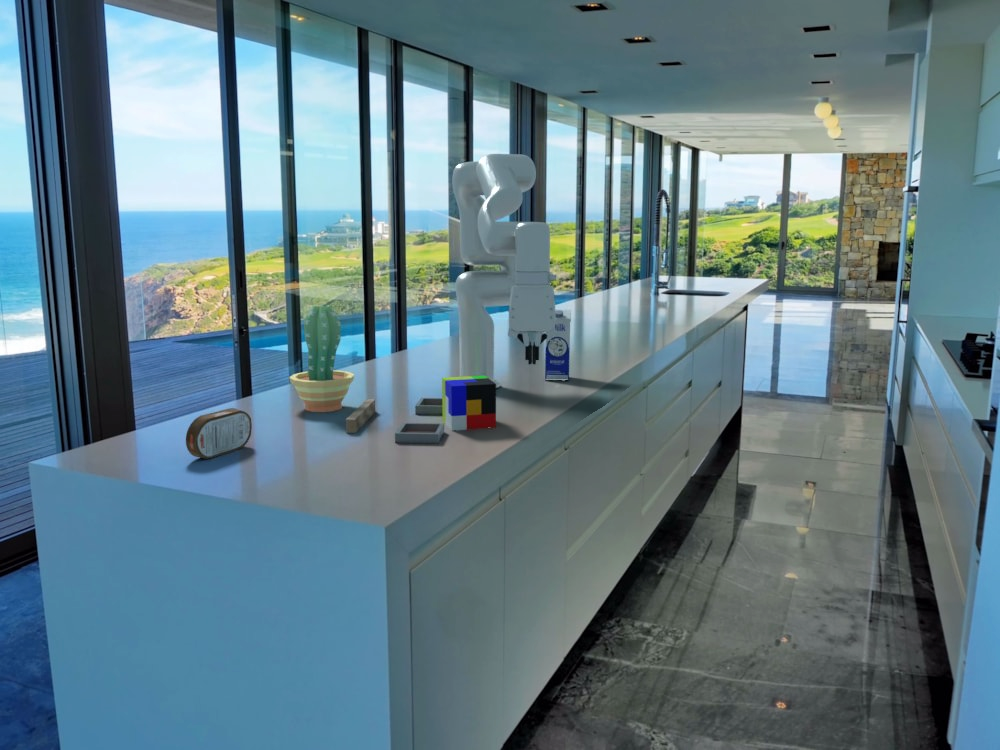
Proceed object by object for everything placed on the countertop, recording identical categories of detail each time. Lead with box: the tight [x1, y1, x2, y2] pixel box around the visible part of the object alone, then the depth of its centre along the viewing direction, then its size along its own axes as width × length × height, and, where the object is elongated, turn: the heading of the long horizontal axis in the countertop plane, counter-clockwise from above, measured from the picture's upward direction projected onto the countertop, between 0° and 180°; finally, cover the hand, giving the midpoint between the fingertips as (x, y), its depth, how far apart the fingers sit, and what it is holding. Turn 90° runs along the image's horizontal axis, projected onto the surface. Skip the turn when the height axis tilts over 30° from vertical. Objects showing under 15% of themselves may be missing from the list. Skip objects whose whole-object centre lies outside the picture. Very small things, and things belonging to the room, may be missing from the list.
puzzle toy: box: [441, 376, 497, 432], centre depth 183 cm, size 10×10×10 cm
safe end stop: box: [345, 398, 376, 434], centre depth 185 cm, size 20×2×3 cm, turn 176°
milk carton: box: [544, 309, 572, 380], centre depth 234 cm, size 7×7×20 cm
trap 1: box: [394, 422, 445, 445], centre depth 172 cm, size 9×9×2 cm
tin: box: [185, 407, 253, 460], centre depth 160 cm, size 15×3×8 cm, turn 152°
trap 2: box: [414, 397, 443, 416], centre depth 197 cm, size 9×9×2 cm
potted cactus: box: [288, 304, 355, 413], centre depth 197 cm, size 15×15×25 cm
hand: (532, 363), depth 180 cm, fingers closed
